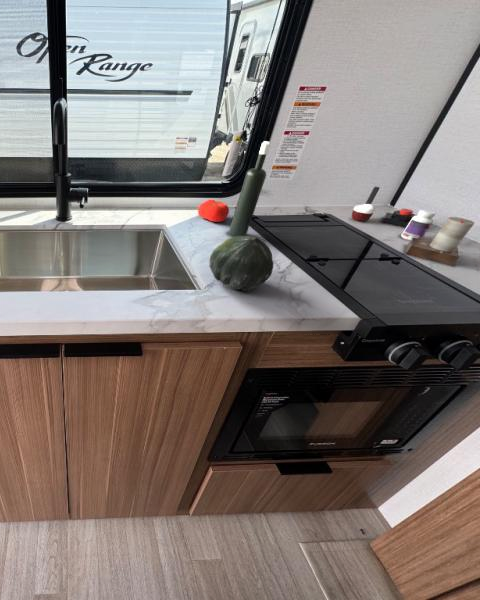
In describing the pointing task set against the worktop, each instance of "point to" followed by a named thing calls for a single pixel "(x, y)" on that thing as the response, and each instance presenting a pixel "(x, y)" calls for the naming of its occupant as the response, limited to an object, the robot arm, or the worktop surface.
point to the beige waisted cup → (451, 234)
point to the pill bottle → (418, 225)
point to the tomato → (213, 210)
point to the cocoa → (365, 208)
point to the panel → (431, 252)
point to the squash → (242, 262)
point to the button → (406, 212)
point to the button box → (397, 219)
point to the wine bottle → (249, 195)
